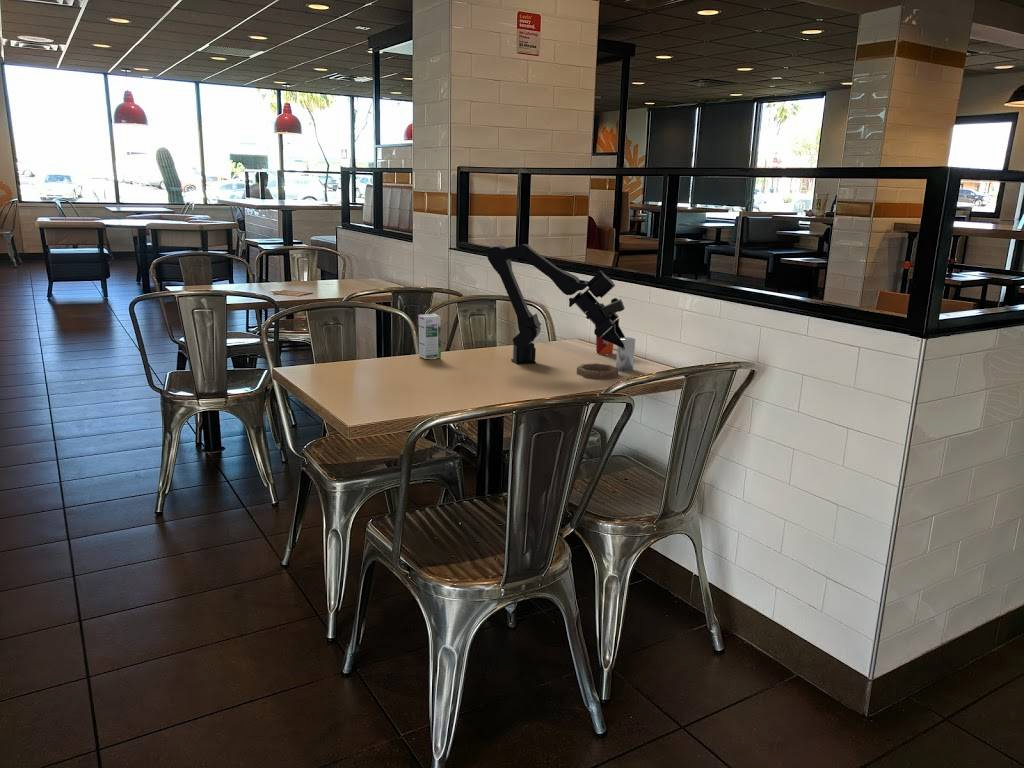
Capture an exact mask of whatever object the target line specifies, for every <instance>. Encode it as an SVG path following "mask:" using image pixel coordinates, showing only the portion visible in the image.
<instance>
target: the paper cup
mask: <svg viewBox="0 0 1024 768" xmlns="http://www.w3.org/2000/svg"><path fill="white" fill-rule="evenodd" d="M616 320H617V319H615V321H616ZM601 336H602V335H601ZM601 336H600V337H601ZM600 337H599V338H598V337H597V336H596V335H595V343H596V344H595V347H596V352H597V353H599V354H598V355H600V354H611V355H613V353H614V345H615V344H612V343H610V342H608V341H606V340H603V339H600ZM597 353H596V354H597Z"/></svg>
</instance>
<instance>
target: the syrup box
mask: <svg viewBox="0 0 1024 768" xmlns="http://www.w3.org/2000/svg"><path fill="white" fill-rule="evenodd" d="M441 320H442V318H441V315H439V314H436V313H429V314H427V313H426V314H418V357H419V356H421V357H423V358H424V359H430V360H435V359H434V358H442V344H441V343H442V341H441V340H442V338H441V336H442V332H441V331H442V329H441V328H442V327H441V326H442V324H441V323H442V321H441ZM424 359H423V360H424Z"/></svg>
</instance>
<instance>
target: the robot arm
mask: <svg viewBox="0 0 1024 768" xmlns="http://www.w3.org/2000/svg"><path fill="white" fill-rule="evenodd" d="M518 258H522V259H524V260H525V261H526V262H528V263H529V264H530V265H532V266H533V267H534V268H535V269H537V270H538V271H539V272H541V273H542V274H543V275H545V276H547V277H548V278H549V279H550V280H552V282H553V283H554V285H555V286H556V287H557V288H558V289H559V290H560V291H561V293H563V294H564V295H566V296H573V295H575V296H573V297H569V298H568V307H569V308H571V307H573V306H574V305H576V306H577V307H578V308H579V309H580V311H581V312H582V313H583V314H584V315H585V318H586V319H587V320H590V322H591V323H592V324H593V325H594V332H593V333H594V335H595V337H596V336H597V337H598V338H599V337H600V336H601V335H602V336H601V337H600V339H603V340H606V341H608V342H610V343H612V344H614V345H615V346H616V347H617V346H619V347H621V348H622V347H623V346H624V344H623V342H622V341H621V339H620V337H626V336H625V333H623V330H622V329H621V327H620V318H619V315H618V314H617V313H618V312H619V313H620V312H622V311H624V310H625V306H624V302H623V301H622V299H621V298H620V299H619V298H617V297H613V298H611V300H610V303H608V304H606V305H604V303H601V302H599V301H598V298H601V299H602V298H604V296H606V295H607V294H608V293H609V292H610V291H611V290H612V289H613V288H614V287H616V284H615V283H614V282H613V280H612V279H611V278H610V277H609V276H607V275H606V274H605V273H604V272H603V271H602V270H599V271H597V273H595V275H594V276H593V277H592V278H591V279H590V280H589V281H588V280H582V279H580V278H579V277H578V276H576V275H574V274H573V273H570V272H568V271H566V270H563V269H561V268H559V267H557V266H556V265H554V263H552V262H551V261H550V260H548V259H547V258H545V257H544V256H543V255H541V254H540V253H539V252H537V251H536V250H534V249H533V248H532V247H531V245H530V244H526V243H523V244H520V245H516V246H510V247H509V246H508V247H507V246H504V245H497V246H493V247H490V249H489V250H488V252H487V260H488V262H489V263H490V264H491V266H492V268H493V269H494V271H495V272H496V273H497V275H499V277H500V279H501V282H502V284H503V286H504V289H505V291H506V294H507V297H508V299H509V301H510V304H511V305H512V308H513V310H514V312H515V315H516V321H517V322H516V323H517V328H518V332H519V333H517V334H516V335H515V336H514V337H513V338H512V342H513V345H512V346H513V349H512V358H510V360H511V361H512V362H514V363H515V364H517V365H525V364H536V363H537V361H536V347H535V343H534V341H535V339H536V338H537V337H538V336H539V335H540V334H541V331H542V329H541V328H542V327H541V326H542V325H543V324H542V323H541V322H540V320H539V317H538V314H537V313H534V314H532V312H531V311H530V309H529V307H528V305H527V303H526V300H525V298H524V295H523V293H522V291H521V288H520V286H519V283H518V282H517V280H516V279H517V278H516V276H515V275H514V271H513V267H512V265H513V263H512V260H513V259H518ZM587 287H588V288H587ZM586 288H587V289H586ZM585 289H586V290H585ZM583 290H585V291H584V292H580V291H583ZM596 298H597V299H596ZM615 319H616V321H615Z"/></svg>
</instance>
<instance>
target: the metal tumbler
mask: <svg viewBox="0 0 1024 768" xmlns="http://www.w3.org/2000/svg"><path fill="white" fill-rule="evenodd" d="M620 339H621V341H622V342H623V344H624V346H623V347H622V348H621V347H619V346H617V345H616V360H615V361H616V363H615V367H616V368H618V372H625V371H628V372H633V371H634V367H635V366H634V363H635V349H636V338H634V337H629V336H627V337H626V336H625V337H620Z"/></svg>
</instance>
